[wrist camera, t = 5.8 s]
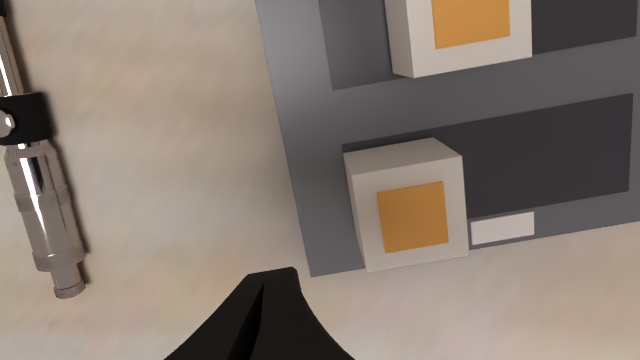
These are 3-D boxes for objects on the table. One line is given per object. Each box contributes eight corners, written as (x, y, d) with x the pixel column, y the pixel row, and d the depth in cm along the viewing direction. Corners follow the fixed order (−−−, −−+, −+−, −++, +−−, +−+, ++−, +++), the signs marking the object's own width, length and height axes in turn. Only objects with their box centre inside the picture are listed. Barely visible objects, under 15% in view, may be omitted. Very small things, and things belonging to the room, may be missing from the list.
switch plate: (681, -135, 17) (710, -150, 16) (656, 205, 21) (678, 215, 20) (246, -55, 17) (242, -63, 16) (310, 265, 22) (311, 278, 20)
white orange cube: (482, -50, 16) (532, -79, 13) (488, 56, 17) (535, 56, 14) (380, -32, 16) (401, -55, 13) (392, 73, 17) (415, 78, 14)
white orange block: (433, 137, 18) (464, 157, 15) (440, 220, 19) (471, 258, 16) (343, 153, 18) (352, 176, 15) (356, 235, 19) (367, 275, 16)
